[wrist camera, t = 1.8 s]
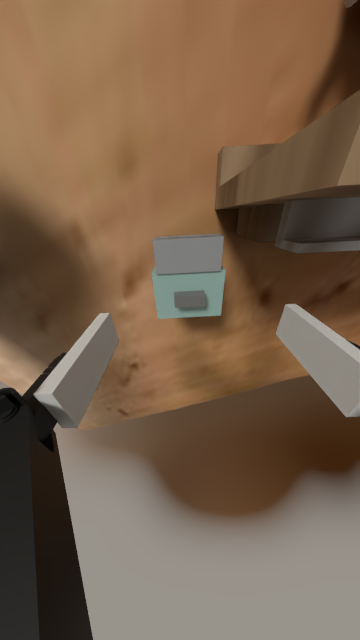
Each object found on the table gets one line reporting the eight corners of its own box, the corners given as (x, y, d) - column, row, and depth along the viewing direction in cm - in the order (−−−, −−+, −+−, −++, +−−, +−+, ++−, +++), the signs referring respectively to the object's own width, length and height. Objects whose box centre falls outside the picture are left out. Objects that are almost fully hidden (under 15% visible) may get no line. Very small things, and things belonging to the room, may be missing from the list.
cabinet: (163, 293, 26) (157, 330, 17) (156, 232, 21) (144, 241, 13) (207, 290, 26) (222, 327, 17) (210, 229, 21) (233, 236, 13)
